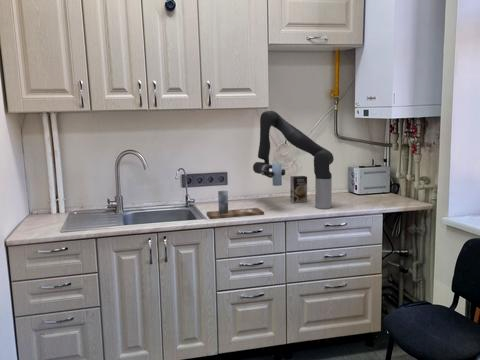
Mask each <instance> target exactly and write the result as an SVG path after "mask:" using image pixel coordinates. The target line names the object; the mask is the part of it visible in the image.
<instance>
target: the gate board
mask: <svg viewBox="0 0 480 360" xmlns="http://www.w3.org/2000/svg"><path fill="white" fill-rule="evenodd" d="M217 195H218V197H217V199H218V210H214V211H213V210H212V211H206V216H207V217H208V218H209V219H210V220H215V219H225V218H227V219H228V218H239V217H240V218H241V217H251V216H263V215H265V212H264V211H263V210H262V209H261V208H259V207H252V208H238V209H237V208H236V209H229V198H228V197H229V196H228V190H219V191H218V192H217Z"/></svg>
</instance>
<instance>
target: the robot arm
mask: <svg viewBox="0 0 480 360" xmlns="http://www.w3.org/2000/svg"><path fill="white" fill-rule="evenodd" d="M271 127H274V128H275V129H276V130H278V131H280V132H281V134H282V135H283V136H284V138H285V140H286V141H288V142H289V143H290V145H292V146H294V147H296V148H297V149H298V150H301V151H303V152H306V153H308V154H309V155H311V156H312V157H313V172H314V175H315V181H314V182H315V184H314V185H315V187H314V188H315V189H314V190H315V208H316V209H325V210H326V209H331V208H332V207H333V206H332V202H333V201H332V195H333V194H332V193H333V192H332V191H333V189H332V179H333V177H332V176H333V174H332V173H331V171H330V166H331V164H333V162H334V155H333V153H332V152H331V151H330V150H328V149H326V148H325V147H324V146H323V147H322V146H321V145H320V144H318V143H317V142H315V140H313V139H312V138H310V137H309V136H308V135H306V134H305V133H303V132H302V131H301V130H299V129H298V128H297V127H295V126H294V125H293V124H291V123H289V122H288V121H287V120H285V119H284V118H283V117H282V116H281V115H280V114H279V113H278V112H276V111H274V110H266V111H264V112H262V113H261V114H260V119H259V130H260V131H259V134H260V135H259V145H258V151H257V158H258V159H260V160H262V161H263V162H262V161H255V163H253V166H252V171H253V172H254V174H255V173H256V174H260V175H261V176H265V177H267V178H269V179H272V176H274V172H272V164H271V163H270V151H271V141H270V131H271ZM285 175H286V169H284V168H282V177H284V176H285Z"/></svg>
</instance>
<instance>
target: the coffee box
mask: <svg viewBox="0 0 480 360" xmlns="http://www.w3.org/2000/svg"><path fill="white" fill-rule="evenodd" d="M289 177H290V178H289V179H290V183H289V184H290V185H289V186H290V193H289V194H290V195H289V198H290V202H291V203H293V204H298V203H307V202H308V176H306V175H293V176H292V175H291V176H289Z"/></svg>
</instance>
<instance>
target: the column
mask: <svg viewBox="0 0 480 360" xmlns="http://www.w3.org/2000/svg"><path fill="white" fill-rule="evenodd" d="M271 165H272V172H274V176H272V178H271V179H272V186H274V187H280V186H281V187H282V185H283V183H282V182H283V179H282V178H283V176H282V169H283V167H282V163H277V162H276V163H272V164H271Z"/></svg>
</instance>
